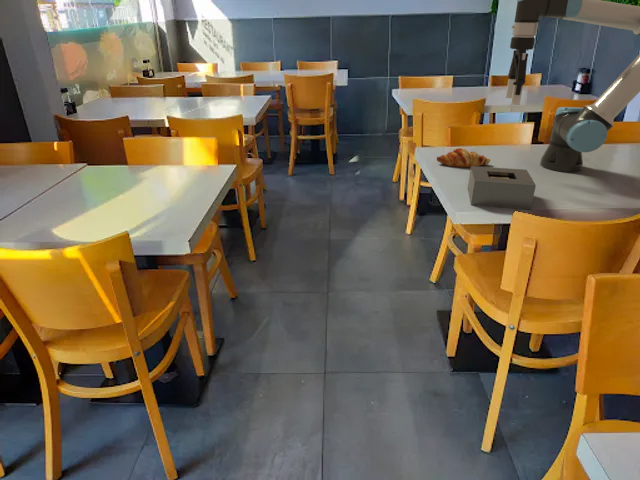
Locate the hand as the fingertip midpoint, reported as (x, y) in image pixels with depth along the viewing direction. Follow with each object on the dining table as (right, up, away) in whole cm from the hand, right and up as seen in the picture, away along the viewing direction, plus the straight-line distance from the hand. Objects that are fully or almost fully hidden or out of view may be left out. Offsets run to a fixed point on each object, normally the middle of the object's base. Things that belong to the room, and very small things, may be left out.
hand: (512, 101), depth 172 cm
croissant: (-11, -20, +22) cm, 31 cm away
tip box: (-10, -36, -12) cm, 39 cm away
